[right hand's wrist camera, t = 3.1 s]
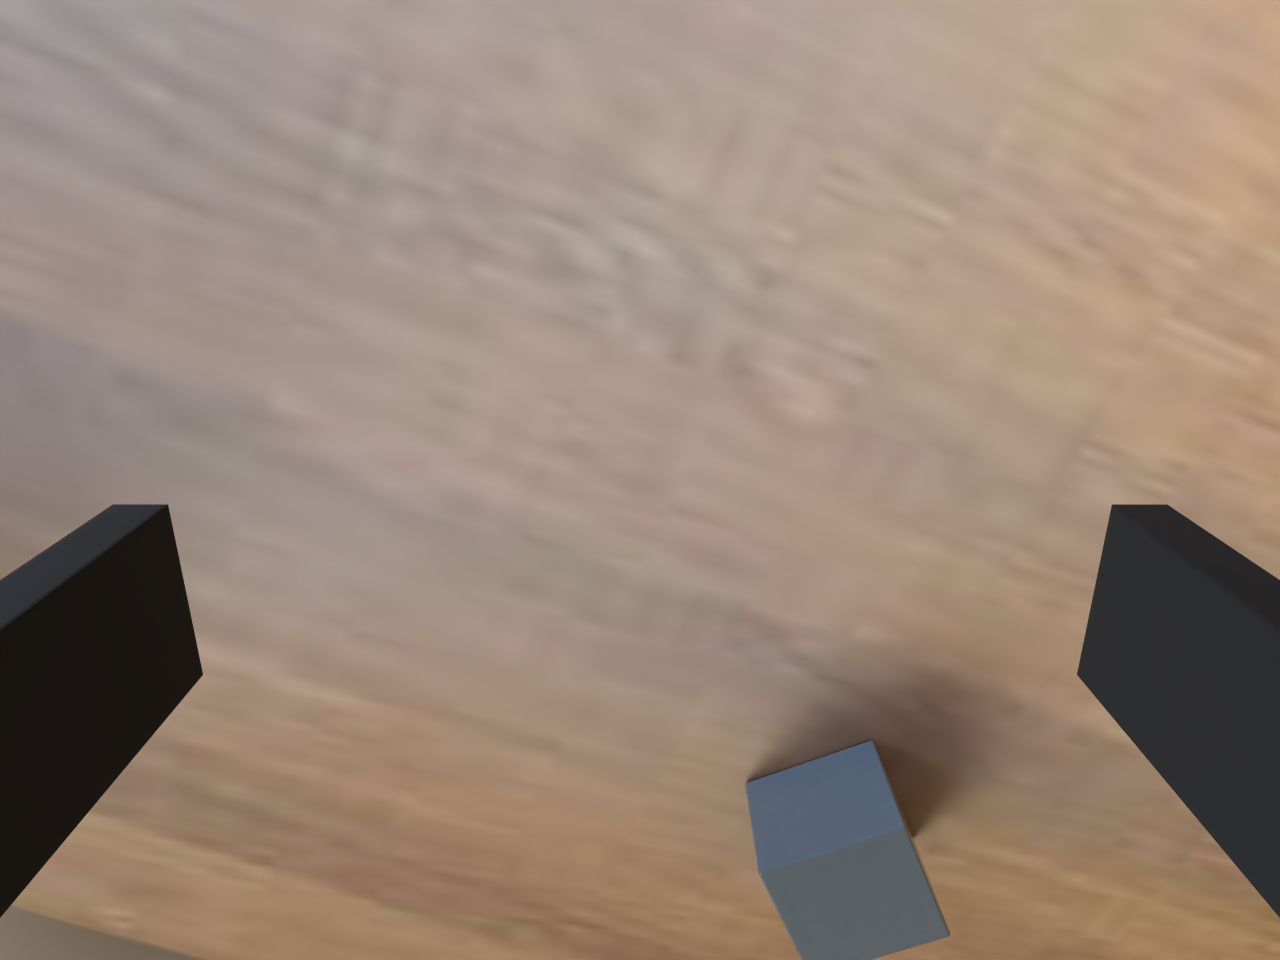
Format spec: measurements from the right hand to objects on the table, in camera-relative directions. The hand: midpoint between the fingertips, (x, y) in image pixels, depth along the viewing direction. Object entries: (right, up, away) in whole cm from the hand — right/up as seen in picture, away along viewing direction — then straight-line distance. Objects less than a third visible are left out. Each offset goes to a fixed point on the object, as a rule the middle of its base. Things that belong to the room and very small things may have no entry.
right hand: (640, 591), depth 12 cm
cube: (+7, -10, +18) cm, 22 cm away
